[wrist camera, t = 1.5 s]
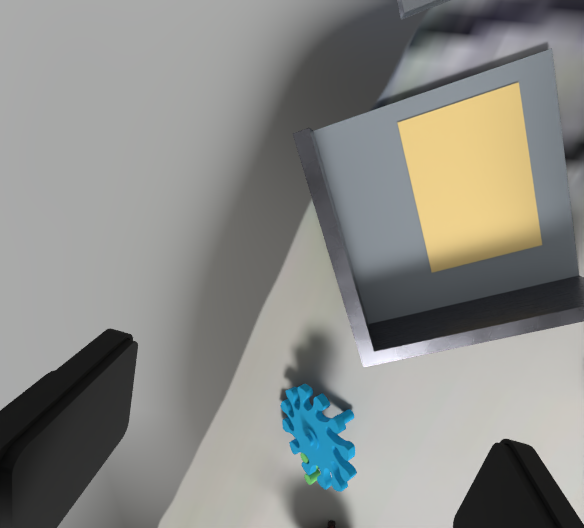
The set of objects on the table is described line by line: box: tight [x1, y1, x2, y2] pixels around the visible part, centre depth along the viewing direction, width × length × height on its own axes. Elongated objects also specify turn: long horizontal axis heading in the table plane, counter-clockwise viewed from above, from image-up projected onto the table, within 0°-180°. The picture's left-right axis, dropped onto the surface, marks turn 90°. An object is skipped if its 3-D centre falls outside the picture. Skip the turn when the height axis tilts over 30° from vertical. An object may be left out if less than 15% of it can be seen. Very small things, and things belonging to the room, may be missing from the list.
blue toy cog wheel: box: [281, 384, 357, 492], centre depth 37 cm, size 11×6×10 cm
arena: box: [293, 49, 584, 367], centre depth 29 cm, size 19×19×6 cm
